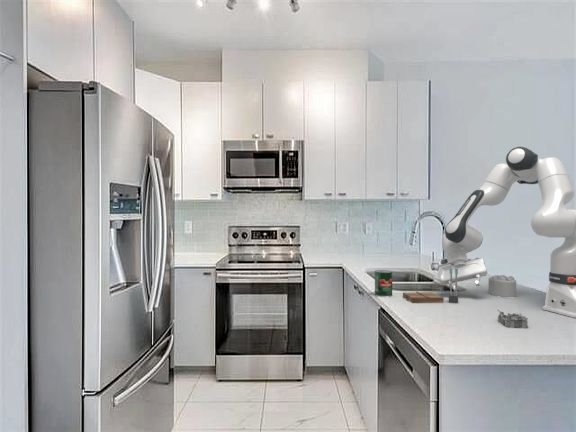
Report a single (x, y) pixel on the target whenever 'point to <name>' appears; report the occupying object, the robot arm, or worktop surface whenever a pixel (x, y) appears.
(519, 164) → the robot arm
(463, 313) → the worktop surface
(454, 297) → the tongs
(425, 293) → the board
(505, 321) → the egg carton
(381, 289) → the canned tomato
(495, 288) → the lumpy-topped squat cylinder
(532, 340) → the worktop surface
